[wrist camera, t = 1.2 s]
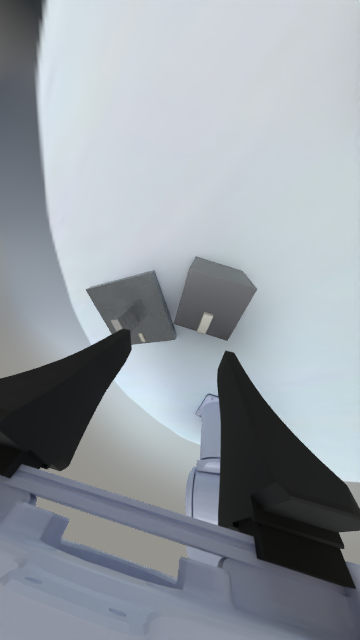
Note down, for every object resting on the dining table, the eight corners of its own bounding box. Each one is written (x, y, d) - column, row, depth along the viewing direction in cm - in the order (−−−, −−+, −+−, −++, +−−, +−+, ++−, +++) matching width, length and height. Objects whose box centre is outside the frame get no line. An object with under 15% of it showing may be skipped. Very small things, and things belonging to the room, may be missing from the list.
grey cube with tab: (242, 271, 16) (258, 290, 11) (222, 311, 19) (227, 343, 14) (196, 256, 16) (188, 269, 11) (183, 299, 19) (173, 326, 14)
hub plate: (154, 270, 18) (138, 280, 14) (176, 335, 22) (169, 356, 19) (90, 287, 21) (63, 299, 17) (122, 342, 25) (106, 361, 22)
